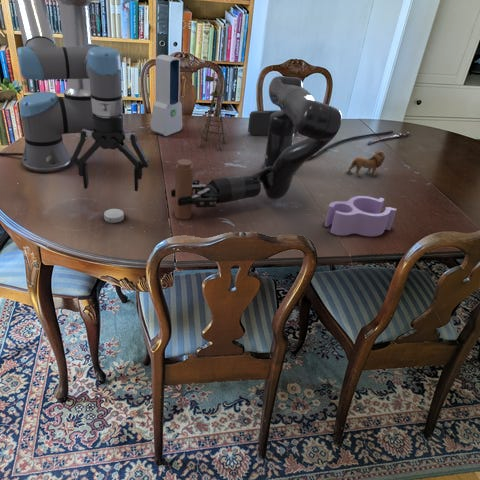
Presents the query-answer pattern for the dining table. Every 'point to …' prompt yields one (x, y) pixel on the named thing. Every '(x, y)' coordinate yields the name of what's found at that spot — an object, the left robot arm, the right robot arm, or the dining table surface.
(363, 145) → the dining table surface
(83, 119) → the left robot arm
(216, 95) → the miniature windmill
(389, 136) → the sword
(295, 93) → the right robot arm
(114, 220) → the lid
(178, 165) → the jar
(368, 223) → the clip
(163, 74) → the electronic device
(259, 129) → the handheld gaming console
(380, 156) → the lion figurine
